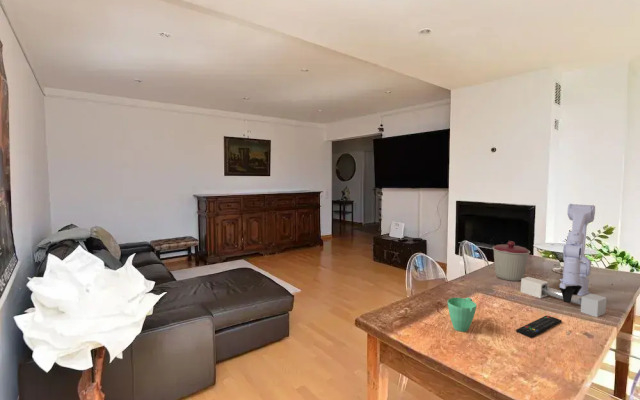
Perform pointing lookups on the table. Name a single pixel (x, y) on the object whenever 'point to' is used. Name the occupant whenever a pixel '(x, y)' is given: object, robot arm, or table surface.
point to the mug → (461, 313)
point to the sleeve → (533, 286)
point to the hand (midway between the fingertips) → (569, 301)
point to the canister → (510, 261)
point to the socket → (593, 305)
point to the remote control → (538, 326)
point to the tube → (560, 294)
